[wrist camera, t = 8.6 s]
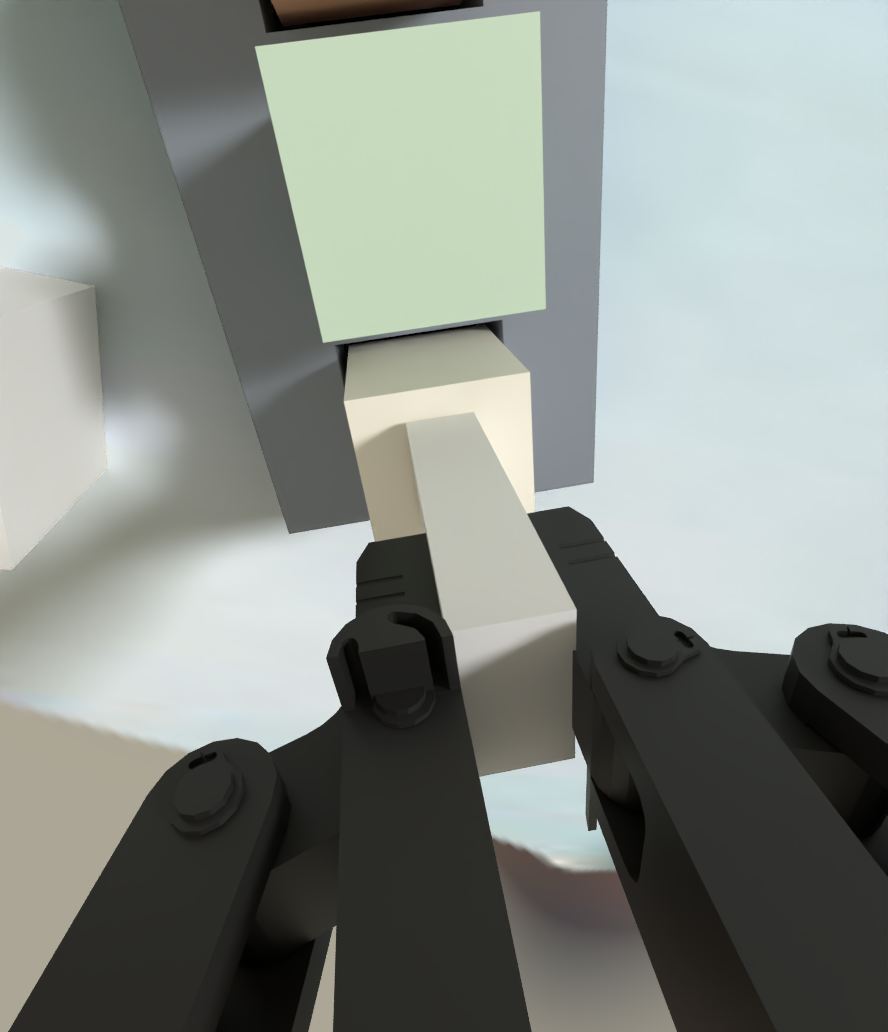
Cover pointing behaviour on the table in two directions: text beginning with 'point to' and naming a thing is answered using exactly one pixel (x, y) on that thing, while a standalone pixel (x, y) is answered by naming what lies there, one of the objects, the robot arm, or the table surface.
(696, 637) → the robot arm
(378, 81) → the key green
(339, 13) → the key terracotta
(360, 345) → the key ivory
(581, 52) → the key panel
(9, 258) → the table surface
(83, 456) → the pale grey cube
